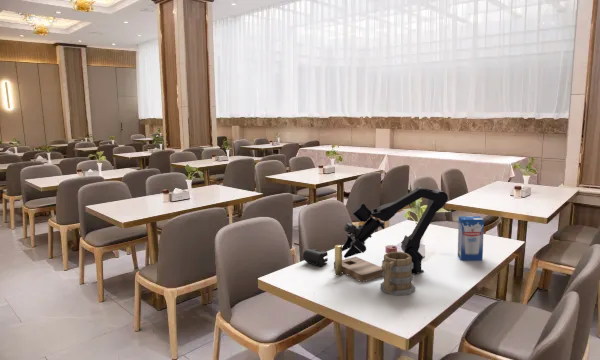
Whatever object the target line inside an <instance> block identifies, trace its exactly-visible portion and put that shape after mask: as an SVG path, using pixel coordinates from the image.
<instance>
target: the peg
mask: <svg viewBox="0 0 600 360" xmlns="http://www.w3.org/2000/svg"><path fill="white" fill-rule="evenodd" d="M342 247H343V246H342V245H341V244H336V245H334V262H335V269H334V270H335V271H334V275H335V274H336V275H335V276H342V275H343V272H342V260H343V251H342Z"/></svg>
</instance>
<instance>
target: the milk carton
mask: <svg viewBox="0 0 600 360" xmlns="http://www.w3.org/2000/svg"><path fill="white" fill-rule="evenodd" d="M484 225H485V219H484V218H482V217H481V216H480V215H479V216H473V215H471V216H468V215H467V216H458V227H457V228H458V230H457V232H458V233H457V235H458V236H457V257H458V259H459V260H460V261H463V262H464V261H470V262H471V261H473V262H474V261H476V262H477V261H481V262H482V261H483V257H484V255H483V253H484V229H485V228H484V227H485V226H484Z"/></svg>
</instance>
